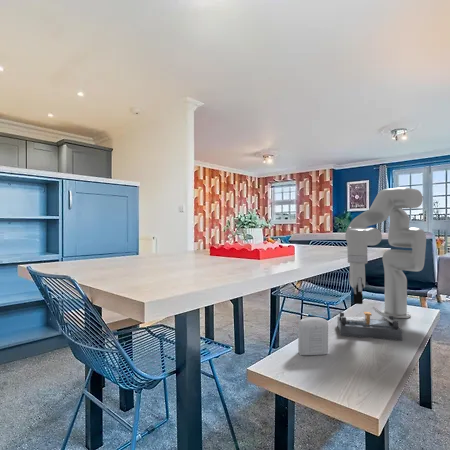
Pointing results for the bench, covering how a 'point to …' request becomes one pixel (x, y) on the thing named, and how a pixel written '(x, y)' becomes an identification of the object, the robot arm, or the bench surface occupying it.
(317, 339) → the photo printer
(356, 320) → the strap
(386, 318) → the strap
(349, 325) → the tray
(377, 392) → the bench surface
